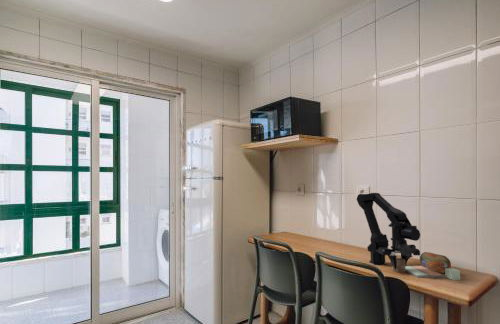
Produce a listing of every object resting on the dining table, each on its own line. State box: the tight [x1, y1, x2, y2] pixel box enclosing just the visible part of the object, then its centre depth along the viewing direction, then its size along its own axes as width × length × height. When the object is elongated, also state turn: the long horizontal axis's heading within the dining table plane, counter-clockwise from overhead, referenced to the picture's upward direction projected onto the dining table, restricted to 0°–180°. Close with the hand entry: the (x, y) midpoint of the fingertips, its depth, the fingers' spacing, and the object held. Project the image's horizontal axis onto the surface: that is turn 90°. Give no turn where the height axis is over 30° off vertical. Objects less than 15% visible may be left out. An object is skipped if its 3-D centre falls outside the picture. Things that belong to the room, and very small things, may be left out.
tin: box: [419, 251, 452, 274], centre depth 145 cm, size 15×3×8 cm, turn 21°
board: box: [405, 265, 446, 279], centre depth 142 cm, size 13×17×1 cm
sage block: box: [444, 267, 461, 281], centre depth 133 cm, size 4×4×4 cm
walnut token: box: [392, 257, 406, 273], centre depth 143 cm, size 4×4×6 cm
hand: (399, 268), depth 143 cm, fingers closed on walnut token, 4 cm apart
